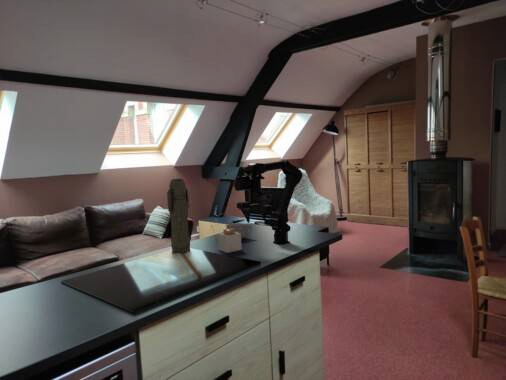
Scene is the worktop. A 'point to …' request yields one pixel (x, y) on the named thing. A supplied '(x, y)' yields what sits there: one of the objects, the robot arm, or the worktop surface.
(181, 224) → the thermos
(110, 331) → the worktop surface
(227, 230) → the plunger
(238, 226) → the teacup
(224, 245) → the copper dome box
